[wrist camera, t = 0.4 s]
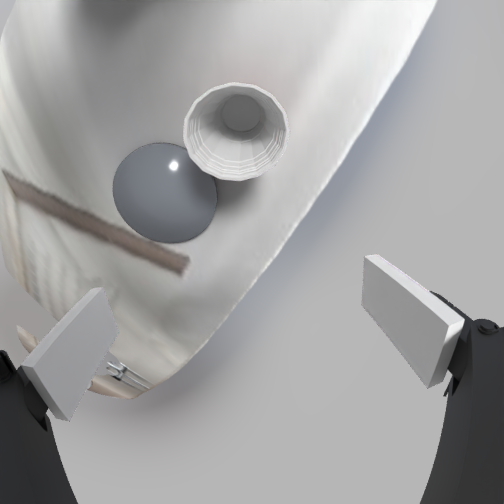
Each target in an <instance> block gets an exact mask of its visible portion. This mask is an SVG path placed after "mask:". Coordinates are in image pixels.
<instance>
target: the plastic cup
mask: <svg viewBox="0 0 504 504" xmlns="http://www.w3.org/2000/svg"><path fill="white" fill-rule="evenodd" d="M289 134H290V128H289V124H288V119H287V115H286V111H285V110H284V109H283V107H282V106H281V105H280V103H279V102H278V101H277V99H276V98H275V97H274V95H272V94H270V93H269V92H267V91H265V90H263V89H262V88H260V87H258V86H256V85H253V84H245V83H237V82H231V83H227V84H223V85H220V86H216V87H213V88H210V89H209V90H208V91H207V92H205V93H204V94H203V95H201V96H200V97H199V98H198V99H196V100H195V101H194V102H193V104H192V106H191V108H190V110H189V112H188V114H187V115H186V117H185V119H184V132H183V140H184V143H185V146H186V148H187V151H188V154H189V156H190V158H191V159H192V160H193V161H194V162H195V163H196V164H197V165H198V166H199V167H200V168H201V169H202V171H204V172H206V173H208V174H210V175H213V176H215V177H217V178H219V179H223V180H234V181H242V180H246V179H250V178H254V177H258V176H260V175H262V174H263V173H265V172H266V171H268V170H269V169H271V168H272V167H274V166H275V165H276V164H277V162H278V161H279V159H280V158H281V156H282V155H283V153H284V152H285V151H286V148H287V143H288V138H289Z"/></svg>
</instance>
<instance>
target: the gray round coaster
mask: <svg viewBox="0 0 504 504" xmlns="http://www.w3.org/2000/svg"><path fill="white" fill-rule="evenodd" d="M113 197H114V201H115V204H116V207H117V209H118V211H119V213H120V215H121V216H122V218H123V219H124V220H125V222H126V223H127V224H128V225H129V226H130V227H131V228H132V229H134V230H135V231H136V232H138V233H139V234H141V235H143V236H145V237H147V238H149V239H152V240H155V241H159V242H165V243H176V242H183V241H186V240H189V239H191V238H194V237H195V236H197V235H199V234H200V233H201V232H202V231H204V229H205V228H206V227H207V226H208V225H209V223H210V222H211V220H212V217H213V215H214V212H215V208H216V204H217V188H216V184H215V181H214V178H213V176H212V175H210V174H208V173H206V172H204V171H202V169H201V168H200V167H199V166H198V165H197V164H196V163H195V162H194V161H193V160H192V159H191V158H190V156H189V154H188V151H187V149H185V148H183V147H181V146H178V145H174V144H170V143H153V144H148V145H145V146H142V147H140V148H138V149H136V150H135V151H134V152H132V153H131V154H130V155H129V156H127V157H126V158H125V159H124V160H123V161H122V163H121V164H120V166H119V167H118V169H117V171H116V173H115V176H114V181H113Z"/></svg>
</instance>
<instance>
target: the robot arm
mask: <svg viewBox="0 0 504 504" xmlns="http://www.w3.org/2000/svg"><path fill="white" fill-rule="evenodd" d="M361 305H362V306H363V308H364V309H365V310H366V311H367V312H368V314H369V315H370V316H371V317H372V318H373V320H374V321H375V322H376V323H377V325H378V326H379V327H380V328H381V329H382V330H383V332H384V333H385V334H386V336H387V337H388V338H389V339H390V341H391V342H392V343H393V344H394V346H395V347H396V348H397V349H398V351H399V352H400V353H401V355H402V356H403V357H404V358H405V360H406V361H407V362H408V364H409V365H410V366H411V367H412V369H413V370H414V371H415V373H416V374H417V375H418V377H419V378H420V379H421V381H422V382H423V383H424V385H425V386H426V387H427V389H428V388H430V387H432V386H434V385H436V384H439V383H440V382H442V381H443V380H444V377H445V375H446V372H447V370H449V371H450V372H451V373H452V378H451V380H450V382H449V385H448V387H447V389H446V391H445V393H444V396H446V395H447V393H448V400H447V407H446V412H445V418H444V423H443V429H442V433H441V438H440V442H439V446H438V450H437V454H436V458H435V461H434V464H433V468H432V471H431V474H430V477H429V480H428V483H427V486H426V489H425V492H424V494H423V497H422V500H421V502H420V504H504V327H501V328H499V326H498V325H497V324H496V323H494V322H492V321H490V320H486V319H477V320H475V321H473V320H472V319H471V318H469V317H468V316H467V315H466V314H464V313H463V312H462V311H460V310H459V309H458V308H457V307H454V306H453V304H451V303H450V302H448V301H447V300H446V299H445V298H444V297H442V296H441V295H439V294H437V293H434V292H432V291H428V290H426V289H425V288H424V287H423V286H421V285H420V284H418V283H417V282H416V281H414V280H413V279H412V278H410V277H409V276H408V275H406V274H405V273H403V272H402V271H401V270H399V269H397V268H396V267H395V266H394V265H392V264H391V263H389V262H387V261H386V260H385V259H384V258H382V257H381V256H379V255H378V254H375V255H368V256H364V272H363V290H362V304H361ZM118 334H119V330H118V327H117V325H116V322H115V319H114V316H113V314H112V311H111V308H110V305H109V302H108V299H107V296H106V293H105V289H104V287H98V288H92V289H91V290H90V291H89V292H88V293H87V294H86V295H85V296H84V297H83V298H81V299H80V300H79V301H78V302H77V303H76V305H75V306H74V307H73V308H72V309H71V310H70V311H69V312H68V313H67V314H66V315H65V316H64V317H63V318H62V319H61V320H60V321H59V322H58V323H57V324H56V325H55V326H54V327H53V328H52V330H51V331H50V332H49V333H48V334H47V335H46V336H45V337H44V338H43V340H42V341H41V342H40V343H39V344H38V345H37V346H36V347H35V348H34V350H33V351H32V352H31V353H30V354H29V355H28V357H27V358H26V359H25V360H24V361H23V363H22V364H21V366H20V367H19V368H18V369H17V370H16V368H15V367H14V365H13V363H12V361H11V360H10V358H9V356H8V354H7V352H5V351H4V350H0V504H78V503H77V500H76V498H75V496H74V493H73V491H72V489H71V486H70V484H69V481H68V479H67V476H66V473H65V471H64V468H63V465H62V462H61V459H60V455H59V452H58V450H57V446H56V442H55V438H54V435H53V431H52V427H51V422H50V419H49V417H48V416H47V415H46V412H47V410H48V408H49V409H50V411H51V412H52V413H53V415H54V416H55V417H56V418H57V419H61V420H65V421H69V422H70V420H71V418H72V416H73V414H74V412H75V410H76V408H77V406H78V404H79V402H80V400H81V398H82V396H83V395H84V393H85V391H86V389H87V387H88V385H89V384H90V382H91V380H92V378H93V376H94V375H95V373H96V371H97V369H98V367H99V366H100V364H101V362H102V360H103V359H104V357H105V355H106V354H107V352H108V350H109V349H110V347H111V345H112V344H113V342H114V340H115V339H116V337H117V335H118Z"/></svg>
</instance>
